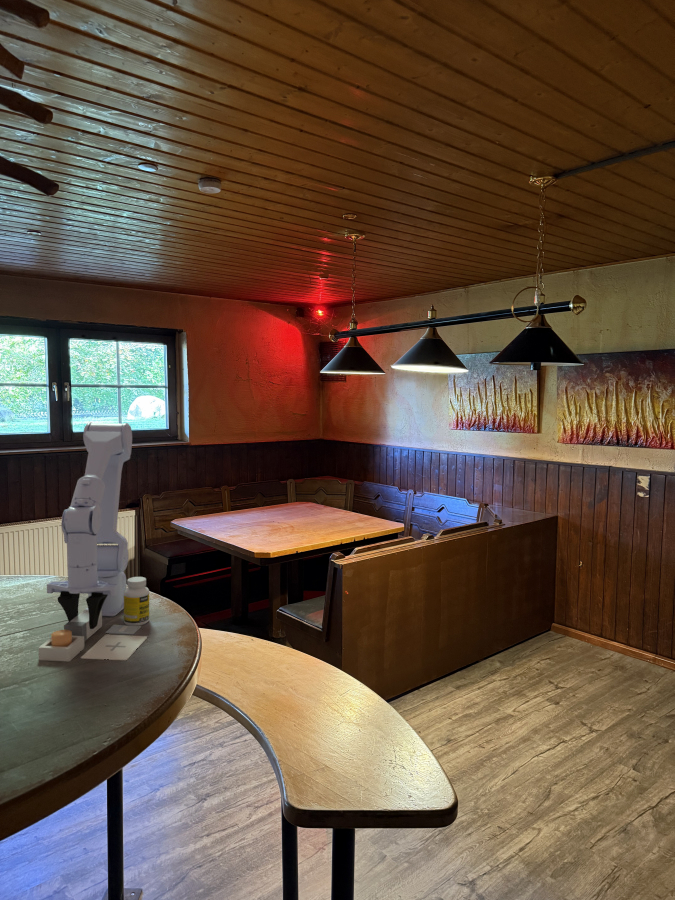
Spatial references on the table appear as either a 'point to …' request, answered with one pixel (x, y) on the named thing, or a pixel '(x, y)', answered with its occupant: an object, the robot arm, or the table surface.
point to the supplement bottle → (136, 602)
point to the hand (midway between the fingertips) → (83, 626)
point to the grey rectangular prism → (82, 625)
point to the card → (123, 629)
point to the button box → (61, 650)
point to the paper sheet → (114, 647)
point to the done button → (61, 638)
